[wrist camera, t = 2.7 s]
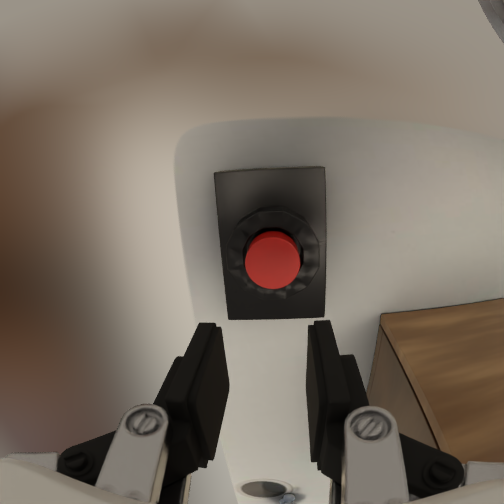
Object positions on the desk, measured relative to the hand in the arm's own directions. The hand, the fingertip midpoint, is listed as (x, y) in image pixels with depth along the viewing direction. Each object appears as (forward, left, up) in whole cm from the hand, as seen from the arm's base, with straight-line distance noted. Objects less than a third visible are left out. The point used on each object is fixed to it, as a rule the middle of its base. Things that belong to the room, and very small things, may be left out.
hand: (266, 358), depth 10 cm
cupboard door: (+4, +23, -15) cm, 28 cm away
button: (0, 0, -12) cm, 12 cm away
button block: (0, 0, -15) cm, 15 cm away
